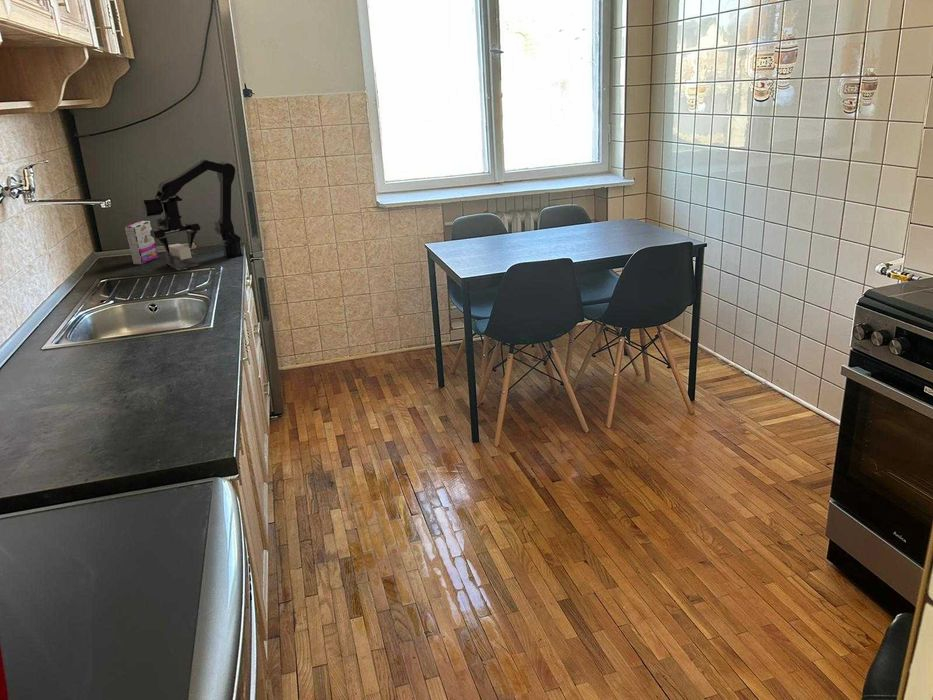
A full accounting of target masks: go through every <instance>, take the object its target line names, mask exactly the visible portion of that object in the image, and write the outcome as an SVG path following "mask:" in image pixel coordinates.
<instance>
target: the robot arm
mask: <svg viewBox="0 0 933 700" xmlns="http://www.w3.org/2000/svg"><path fill="white" fill-rule="evenodd" d="M207 171H212V172H215V173H216V175H217V179H218V182H219V189H220V190H219V219H218V221H216V220H215V221H214V226H215V228H214V232H215V234H216V236H217V237H218V238H220V239H221V240H222V243H223V244H222V245H223V246H222V251H223V256H224V257H226V258H229V259H231V258H237V257H241V256H244V255H245V254H244V253H243V252H242V247H241V241H242V239H241V237H240V236H239V235H238V234H236V233H235V228H234V225H233V221H232V185H233V182H234V180H235V175H236V167H235V166H234V165H233V164H232V163H228V162H224V161H221V162H219V163H218V162H216V161H215V162H214V161H212V160H211V161H210V160H209V159H204V158H203V159H201V160H200V161H198V162H196V164H194V165H193V166H191V167H190V168H188V169H186V170H185V171H183V172H181V173H180V174H179V175H176V176H175V177H171V178H167V179H165V180H163V181H160V182H159V183H158V187H157V189H158V190H157V192H156V194H155V196H154V198H148V199H146V198H144V199H142V211H143V214H144V216H145V218H149V217H154V216H155V217H156V216H161V215H162V214H163V212H164V215H163V217H164V219H163V218H157V219H156V224H157V227H158V228H152V230H151V231H150V234H151V237H154V239H157V240H158V241H160V243H161V244H162V245H163V248H164V249H165V252H168V253H169V246H168V245H169V243H168V238H167V236H166V235H167V234H173V233H179V232H183V231H185V233H186V235H187V237H186V238H187V245H188V248H190V249H192V247H193V242H194V239H195V236H196V234H197V233H198V232H199V231H201V226H200V224H199V223H197V222H195V221H192V222H186V223H185V224H184V225H183V223H182V215H181V214H180V209H179V202H181V201H183V198H181V197H180V196H179V195H178V193H179V192H180V191H181V189H182V188H183V187H184V186H185V185H187V184H188V183H190V182H191V181H193V180H195V179H196V178H198V177H199V176H201V175H202V174H204V173H206V172H207Z"/></svg>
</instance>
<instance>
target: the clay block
mask: <svg viewBox="0 0 933 700" xmlns="http://www.w3.org/2000/svg"><path fill="white" fill-rule="evenodd" d="M168 246H169V253H170V255H171V256H178V257H179V259H180V260H183V259H188V258H192V256H191V252H192V251H191V248H189V246H186V245H183V244H180V243H174V244H168Z"/></svg>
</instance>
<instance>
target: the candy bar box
mask: <svg viewBox="0 0 933 700" xmlns="http://www.w3.org/2000/svg"><path fill="white" fill-rule="evenodd" d="M152 229H153V228H152V223H151V220H141V221H140V220H139V221H138V222H134V223H131V224H129V225H127V226H124V230H125V234H126V239H127V242H128V246H129V251H130V255H131V259H132V264H133V265H144V264H143V263H145V264H147V263H149V262H148V261H150V262H152V261H154V260H156V259H159V254H158V249H157V246H156V241H155V238H154V237H151V234H150V231H151V230H152ZM153 259H154V260H153ZM151 260H152V261H151ZM146 262H147V263H146Z"/></svg>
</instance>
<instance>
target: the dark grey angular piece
mask: <svg viewBox="0 0 933 700" xmlns="http://www.w3.org/2000/svg"><path fill="white" fill-rule="evenodd" d="M164 255H165V260H166V262H165V264H166V265H167V264H168V265H171V266H173V267H175V268H177V269H184V268H190V267H194V266H199V264H198V262H197V257H196V253H195V252H193V251H191V256H192V258H188V259H183V260H180V259H179V257H178V256H171V255H170V253H168V252H167V251H165V252H164ZM168 265H167V266H168ZM171 266H170V267H171ZM173 267H172V268H173ZM175 268H174V269H175ZM194 268H195V267H194ZM177 269H176V270H177ZM190 269H191V268H190Z"/></svg>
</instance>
